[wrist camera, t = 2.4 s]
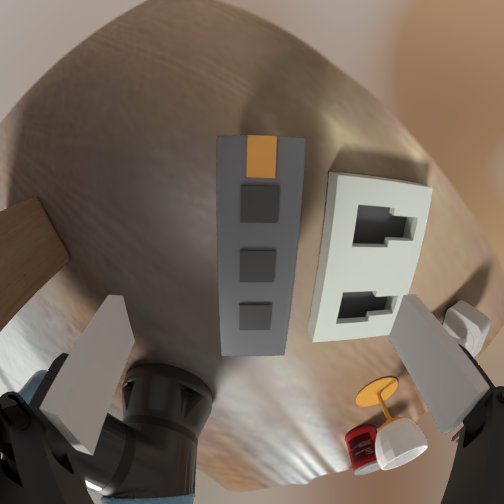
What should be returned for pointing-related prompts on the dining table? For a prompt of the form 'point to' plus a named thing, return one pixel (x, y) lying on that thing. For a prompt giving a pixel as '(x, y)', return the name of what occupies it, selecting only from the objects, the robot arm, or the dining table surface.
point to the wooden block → (26, 255)
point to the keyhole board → (366, 254)
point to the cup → (392, 427)
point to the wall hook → (467, 326)
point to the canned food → (362, 449)
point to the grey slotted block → (257, 239)
